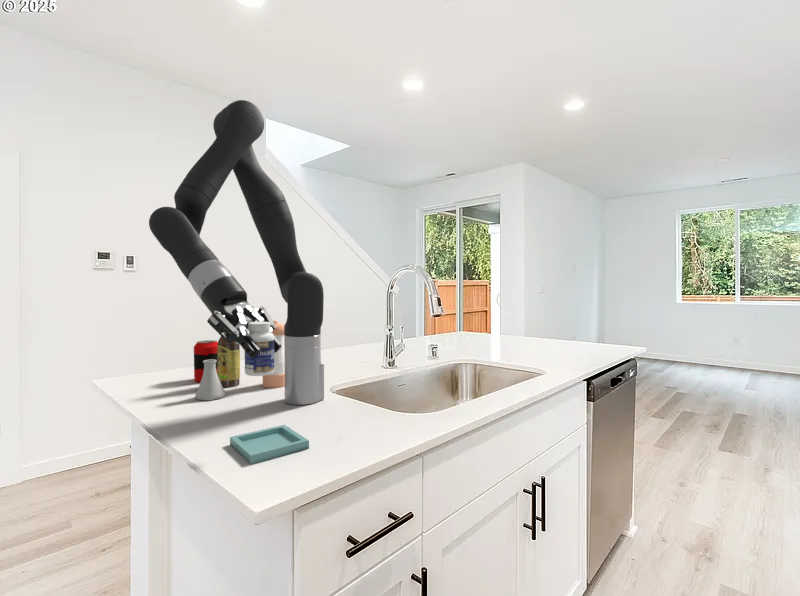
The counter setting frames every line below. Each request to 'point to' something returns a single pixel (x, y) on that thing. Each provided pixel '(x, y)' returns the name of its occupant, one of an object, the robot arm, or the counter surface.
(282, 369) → the salt shaker
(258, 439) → the tray
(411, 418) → the counter surface
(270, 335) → the pill bottle
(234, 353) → the sauce bottle
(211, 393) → the flask
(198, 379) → the soda can
